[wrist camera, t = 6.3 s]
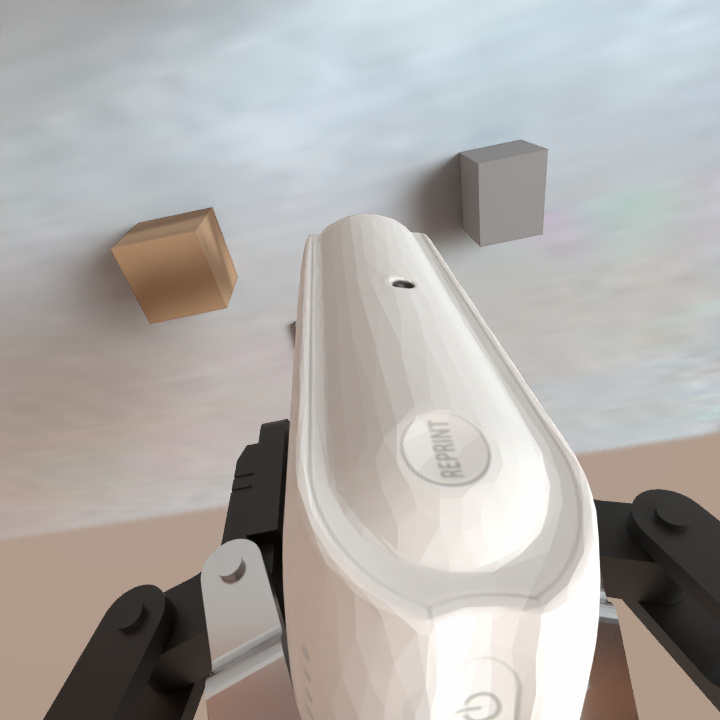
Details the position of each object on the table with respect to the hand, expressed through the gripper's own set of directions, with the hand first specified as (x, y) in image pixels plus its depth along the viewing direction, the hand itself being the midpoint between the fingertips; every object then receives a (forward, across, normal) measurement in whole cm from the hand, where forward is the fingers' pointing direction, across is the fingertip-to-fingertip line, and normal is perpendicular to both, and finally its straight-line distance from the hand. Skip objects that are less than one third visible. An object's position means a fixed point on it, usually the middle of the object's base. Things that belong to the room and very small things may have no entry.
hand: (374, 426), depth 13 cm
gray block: (+21, -10, 0) cm, 23 cm away
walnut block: (+21, +11, 0) cm, 23 cm away
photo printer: (+4, 0, 0) cm, 4 cm away
